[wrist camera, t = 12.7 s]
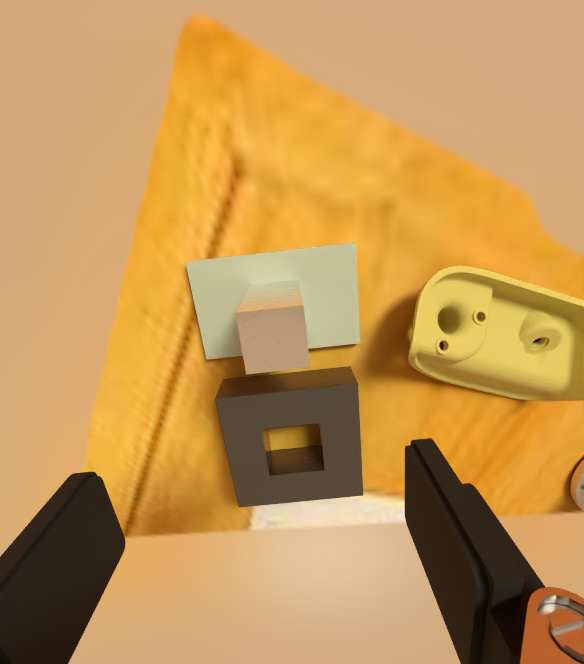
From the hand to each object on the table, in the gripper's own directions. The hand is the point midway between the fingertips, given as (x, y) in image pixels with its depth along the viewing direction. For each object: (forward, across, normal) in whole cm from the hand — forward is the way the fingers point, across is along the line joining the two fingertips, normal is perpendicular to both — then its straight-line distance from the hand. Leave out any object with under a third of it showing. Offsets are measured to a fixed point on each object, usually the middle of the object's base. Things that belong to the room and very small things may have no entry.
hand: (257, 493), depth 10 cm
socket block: (+24, 0, +15) cm, 28 cm away
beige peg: (+23, 0, 0) cm, 23 cm away
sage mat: (+24, 0, 0) cm, 24 cm away
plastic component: (+25, -21, +5) cm, 33 cm away
